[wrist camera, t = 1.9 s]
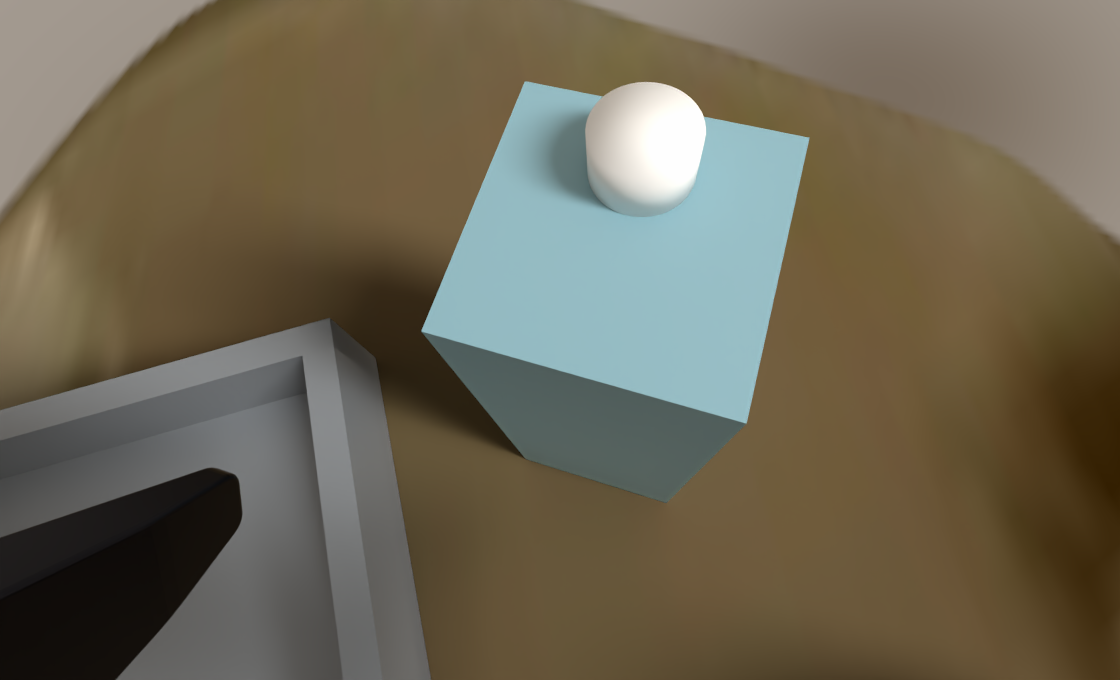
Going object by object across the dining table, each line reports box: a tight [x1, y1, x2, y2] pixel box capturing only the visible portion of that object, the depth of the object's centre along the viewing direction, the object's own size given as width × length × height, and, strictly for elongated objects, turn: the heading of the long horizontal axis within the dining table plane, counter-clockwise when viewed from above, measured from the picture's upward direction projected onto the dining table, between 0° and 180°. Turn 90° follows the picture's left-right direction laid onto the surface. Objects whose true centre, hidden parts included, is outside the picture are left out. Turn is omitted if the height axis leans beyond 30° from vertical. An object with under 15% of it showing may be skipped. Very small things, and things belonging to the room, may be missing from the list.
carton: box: [421, 81, 809, 503], centre depth 15 cm, size 5×5×14 cm
